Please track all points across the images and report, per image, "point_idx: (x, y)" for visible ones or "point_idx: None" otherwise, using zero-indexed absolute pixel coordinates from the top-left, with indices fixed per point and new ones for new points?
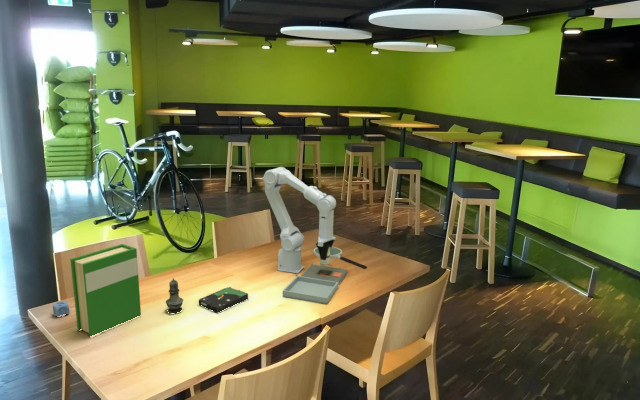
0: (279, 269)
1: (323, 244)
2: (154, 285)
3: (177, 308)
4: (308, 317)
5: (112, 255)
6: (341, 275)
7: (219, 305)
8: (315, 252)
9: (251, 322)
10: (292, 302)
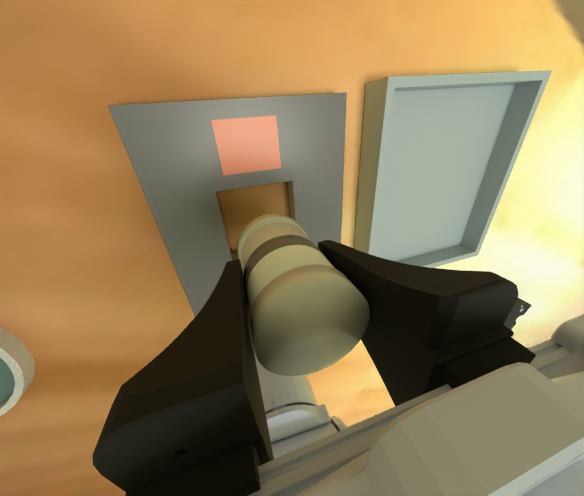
0: None
1: (513, 350)
2: None
3: None
4: (580, 107)
5: None
6: (248, 110)
7: (523, 309)
8: (13, 399)
9: (562, 229)
10: None
